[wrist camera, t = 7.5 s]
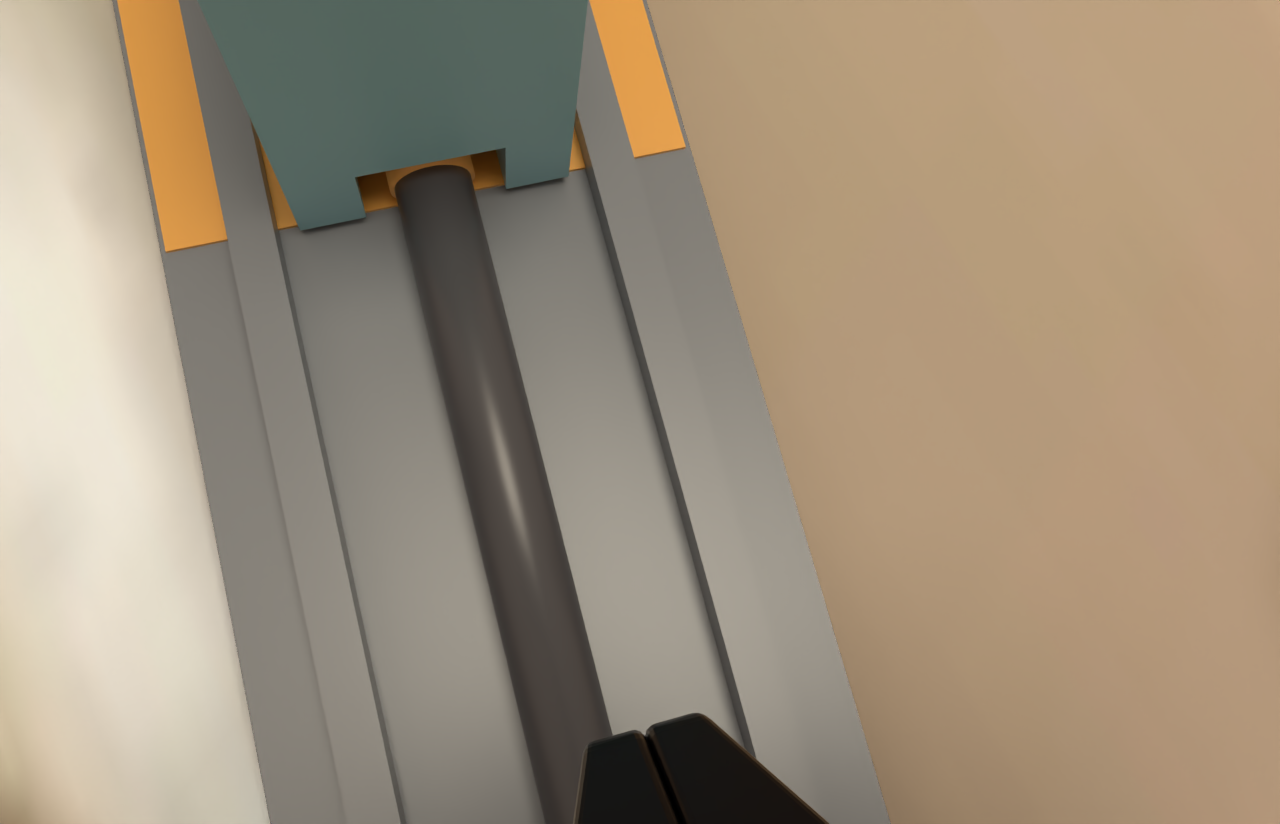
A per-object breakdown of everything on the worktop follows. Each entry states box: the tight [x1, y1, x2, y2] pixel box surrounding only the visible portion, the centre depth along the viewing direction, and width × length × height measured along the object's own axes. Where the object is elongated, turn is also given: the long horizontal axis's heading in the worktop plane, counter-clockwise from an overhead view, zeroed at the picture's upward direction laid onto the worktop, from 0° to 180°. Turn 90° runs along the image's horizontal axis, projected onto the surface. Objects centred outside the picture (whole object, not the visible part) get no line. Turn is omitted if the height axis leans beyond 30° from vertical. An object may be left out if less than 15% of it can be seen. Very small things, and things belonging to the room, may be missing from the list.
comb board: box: [112, 0, 891, 824], centre depth 19 cm, size 26×10×6 cm, turn 15°
